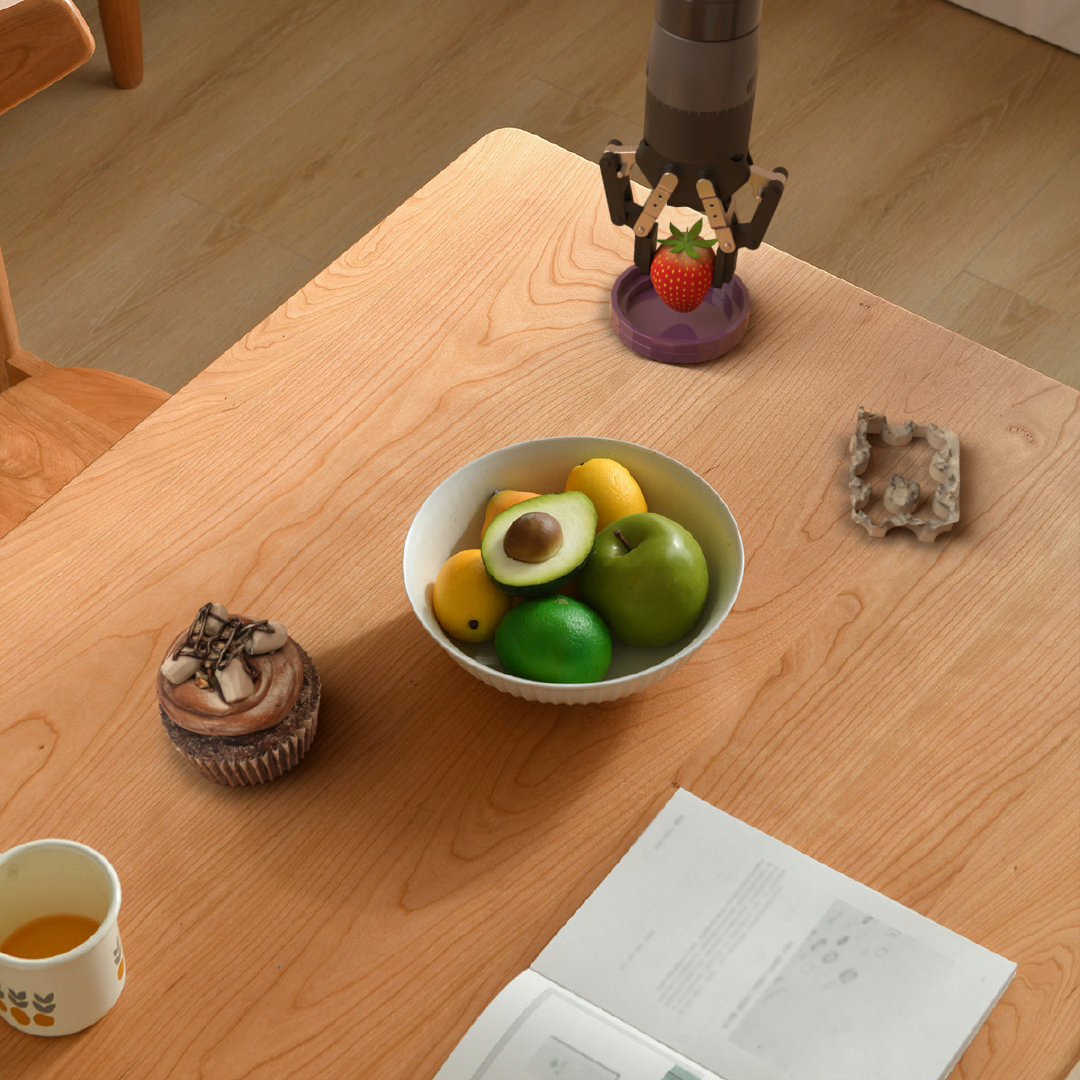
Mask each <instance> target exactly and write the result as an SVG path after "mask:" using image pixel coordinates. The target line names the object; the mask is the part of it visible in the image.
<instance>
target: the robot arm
mask: <svg viewBox="0 0 1080 1080" xmlns="http://www.w3.org/2000/svg"><path fill="white" fill-rule="evenodd" d="M763 6H764V0H655V3H654V13H653V15H654V16H653V21H652V27H651V32H650V36H649V42H648V52H647V53H648V54H647V59H646V62H645V76H646V82H645V83H646V85H645V101H644V118H643V135H642V139H641V140H640V142H639V144H633V145H629V144H628V145H624V144H623V142H622V141H621V140H619V139H616V138H612V139H610V140H609V141H608V142H607V145H606V146H605V148H604V150H603V152H602V155H601V156H600V158H599V161H598V165H599V170H600V175H601V180H602V184H603V189H604V195H605V199H606V202H607V209H608V213H609V217H610V221H611V223H612V224H613V226H616V227H623V226H626V227H628V228H630V229H631V230H632V231H633V233H634V242H633V243H634V244H633V246H634V247H633V261H632V262H633V263H634V264H635V266H636V267H641V272H640V273H641V274H642V275H648V276H650V274H651V270H650V267H651V262H652V258H653V256H654V253H655V252H656V250H657V249H658V242H656V241H655V240H657V239H658V235H659V234H658V233H659V222H657V220H658V218H659V216H660V215H661V213H662V211H663V210H664V208H665V206H667V207H672V208H689V209H691V210H694V211H697V212H700V213H705V214H706V217H707V221H708V224H709V227H710V229H711V230H713V231H714V234H715V237H716V238H717V240H718V241H717V243H718V246H717V249H716V252H715V254H716V260H715V269H714V277H713V286H712V287H713V288H718V289H722V287H723V284H724V283H728V284H729V283H730V281H731V280H732V278H733V275H734V273H735V272H736V269H737V264H738V263H737V262H738V255H739V250H740V249H744V248H746V249H747V250H749V251H756V250H758V249H759V248H760V247H761V244H762V242H763V240H764V237H765V235H766V233H767V231H768V228H769V226H770V223H771V222H772V219H773V217H774V215H775V213H776V210H777V208H778V205H779V203H780V201H781V200H782V199H781V198H782V197H783V194H784V191H785V188H786V184H787V181H788V178H789V171H788V169H786V168H785V167H784V166H776V167H774V168H773V170H769V169H766V168H764V167H761V166H758V165H756V164H754V159H753V157H752V155H751V152H750V148H749V146H750V137H751V130H752V122H753V114H754V106H755V100H756V99H755V98H756V92H757V91H756V90H757V83H758V76H759V75H758V74H759V68H760V67H759V66H760V61H761V60H760V59H761V48H762V47H761V46H762V45H761V43H762V41H761V36H762V35H761V22H762V21H761V20H762V14H763ZM635 164H636V165H637V167H638V168H639V170H640V171H641V173H642V174H643V176H644V177H645V179H646V180H647V182H648V183H649V185H650V186H651V188H652V189H651V190H650V192H649V194H648V197H646V200H645V201H644V203H643V205H641V204H639V203H636V202H635V198H634V194H633V188H632V184H631V178H630V174H631V172H632V170H633V167H634V165H635ZM747 183H748V184H750V185H751V186H752V197H753V198H754V199H755V202H756V203H757V207H756V209H755V211H754V213H753V215H752V217H751V220H750V222H741V220H740V217H739V213H738V210H737V199H736V198H737V197H736V195H735V194H736V193H737V192H738V191H739V190H740V189H741V188H742V187H743V186H744V185H746V184H747Z"/></svg>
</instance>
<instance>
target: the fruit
mask: <svg viewBox="0 0 1080 1080" xmlns="http://www.w3.org/2000/svg"><path fill="white" fill-rule="evenodd" d="M703 218H704V217H701V218H699V219H698V220H697V221H696V222H695V223H694V224H693V225H692V226H691V227H690V229H689V226H687V227H686V231H681V230H680V229H679V228H678V227H677V226H675V224H673V223H672V221H669V224H668V227H669V231H670V233H671V235H670V236H668V237H667V238H666V239H664V238H663V239H661V238H657V240H655V241H656V242H657V243H659V246H657V248H656V252H655V253H654V256H653V258H652V262H651V267H650V270H651V280H652V283H653V286H654V288H655V290H656V292H657V293H658V295H659V297H660V298H661V299H662V301H663V302H664V303H665V304H666V305H667V306H669V307H670V308H671V309H673V310H675V311H677V312H681V313H688V312H692V311H694V310H695V309H696V308H697V307H699V305H700V304H701V303H702V301H703V300H704V298H705V296H706V294H707V293H708V291H709V289H710V288H711V286H712V284H713V277H714V269H715V260H716V252H715V250H714V248H713V246H715V245H716V244H717V243H718V240H717V237H716V238H712V239H705V238H703V237H702V236H701V235H700V234H701V232H702V230H703V223H704V222H703V220H704V219H703Z"/></svg>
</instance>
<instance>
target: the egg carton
mask: <svg viewBox="0 0 1080 1080" xmlns="http://www.w3.org/2000/svg"><path fill="white" fill-rule="evenodd" d="M856 420H857V421H856V428H855V433H854V434H853V435H852V436H851V438H850V441H849V452H850V453H851V459H850V460H851V461H850V465H849V472H848V488H849V499H850V504H851V519H852V520H854V522H855V523H856V524H859V525H861V526H862V527H864V528H865V529H866V530H867V532H868V534H869V536H871V537H874V538H885V537H886V535H887V532H888V531H889V530H891V529H893V528H897V527H903V528H907V529H909V530H911V531H912V532H914V534H915V535H916V537H917V539H918V540H919V542H923V543H924V542H925V543H934V542H935V540H936V538H937V536H939V535H941V533H945V532H951V531H952V528H953V524H954V523H957V522H959V520H960V512H961V511H960V510H961V509H960V499H961V498H960V497H961V496H960V488H961V478H960V476H961V475H960V473H961V470H960V469H961V468H960V439H959V438H960V437H959V435H958V434H957V433H956V432H955V431H953V430H952V429H951V428H950V427H948V426H939V425H937V424H934V423H932V422H929V423H928V424H919V423H918V424H917V423H915V422H914V421H913V420H908V419H907V420H906V421H905V422H903V423H904V424H903V425H897V424H888V421H887V420H888V419H887V416H886V415H884V414H883V413H878V412H868V411H866V410H865V406H863V405H861V406H859V407H858V409H857V419H856ZM867 434H877V435H879V436H880V438H881V439H882V441H883V442H884V443H886V444H888V445H890V446H891V447H904V446H907V445H909V444H910V443H911V441H912V440H913V438H924V439H926V441H927V442H928V444H929V445H930V446H931V447H932V448H934V449H937V450H939V451H936V452H935V453H934V455H933V457H932V459H931V462H930V465H929V469H928V472H929V475H930V477H931V478H932V479H933V480H935V481H936V482H938V483H939V484H938V485H937V487H936V490H935V493H934V496H933V498H932V502H931V509H932V511H933V512H934V513H933V514H935V515H937V516H938V517H939V518H941V519H943V520H946V521H942V520H940V519H933V518H931V519H929V520H924V519H923V518H921V517H920V518H915V517H914V516H913V515H912V513H914V512H915V510H916V509H917V506H918V503H919V501H920V498H921V485H920V483H919V482H917V481H916V480H914V479H911V478H908V477H904V476H901V474H900V473H894V474H893V475H892V476H890V478H889V480H888V485H887V486H886V488H885V491H884V495H883V501H882V502H883V506H884V507H885V509H886V510H887V511H888V512H890V513H892V514H893V515H892V516H891V517H890V518H889V517H888V516H887V517H885V518H884V519H883V521H882V524H881V525H879V526H878V525H877V526H876V525H873V524H872V521H871V517H870V515H868V514H866V513H865V512H864V511H863V510H862V509H864V508H866V506H867V505H868V503H869V500H870V497H871V492H872V489H873V484H872V483H870V482H869V483H865V482H864V480H863V479H862V478H860V477H858V476H860V475H862V474H864V473H865V472H866V471H867V468H868V465H869V459H870V458H871V452H872V451H871V450H872V449H873V446H872V445H870V443H869V440H867ZM857 511H858V512H857Z"/></svg>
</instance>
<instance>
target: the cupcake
mask: <svg viewBox="0 0 1080 1080" xmlns="http://www.w3.org/2000/svg"><path fill="white" fill-rule="evenodd" d="M313 661H314V660H313V656H308V650H304V648H303V647H302V646H301V644H300V643H298V642H297V641H295V639H293V638H292V636H290V635H288V628H287V627H286V625H284V624H283V623H282V622H280V621H278V620H271V621H269V619H259V618H258V617H255V616H250V615H245V614H244V615H243V614H240V613H229V612H228V609H227V608H226V606H225V605H223V604H221V603H219V602H216V603H213V602H211V601H210V602H207V603H206V604H204V605H203V606H202V607H200V608H199V610H198V612H197V614H196V615H195V617H194V619H193V620H192V623H191V624H190V625H189V626H188V627H186V628H185V629H183V630H182V631H181V632H180V633H179V634H177V635H176V637H174V640H173V641H172V642H171V643H170V645H169V647H168V649H167V650H166V652H165V655H164V656H163V659H162V661H161V663H160V665H159V668H158V671H157V675H156V682H155V686H154V689H155V690H156V692H155V695H154V697H155V698H157V701H158V709H159V711H160V713H158V716H159V718H160V723H161V725H162V726H163V728H164V729H165V730H164V731H165V735H166V737H168V739H169V740H170V742H171V744H172V745H173V746H174V748H175V749H176V751H177V752H179V753H180V754H181V755H182V756H183V757H184V758H185V759H186V760H187V761H188V762H189V764H190V765H191V766H192V767H193V768H194V769H195V771H197V773H198V774H202V776H203V777H204V779H208V780H210V781H211V783H213V784H215V783H219V784H220V785H221V786H227V785H229V786H231V787H236V786H238V785H240V786H242V787H245V786H247V785H248V784H250V785H251V786H254V785H256V784H257V783H260V784H262V785H263V784H264V783H265V782H266V781H271V782H272V781H273V780H274V779H275V778H276V777H283V775H284V772H285V771H291V769H292V767H293V766H295V765H298V764H299V760H300V759H304V758H305V756H304V755H305V753H306V752H308V751H310V744H312V743H314V737H315V735H316V734H317V727H318V717H319V716H318V715H319V709H320V700H321V695H322V694H321V689H322V683H320V680H321V676H320V674H318V673H317V672H318V665H316V664H314V665H313Z"/></svg>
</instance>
